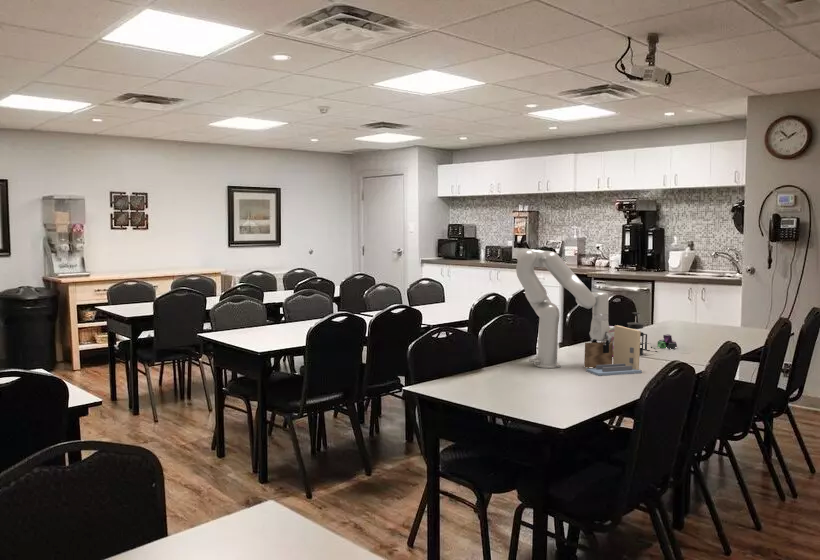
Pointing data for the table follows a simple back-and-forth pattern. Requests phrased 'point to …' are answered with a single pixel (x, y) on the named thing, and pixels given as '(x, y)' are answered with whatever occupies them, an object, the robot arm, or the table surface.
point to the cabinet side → (622, 353)
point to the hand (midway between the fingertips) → (600, 351)
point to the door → (597, 354)
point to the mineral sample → (667, 342)
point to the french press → (640, 326)
